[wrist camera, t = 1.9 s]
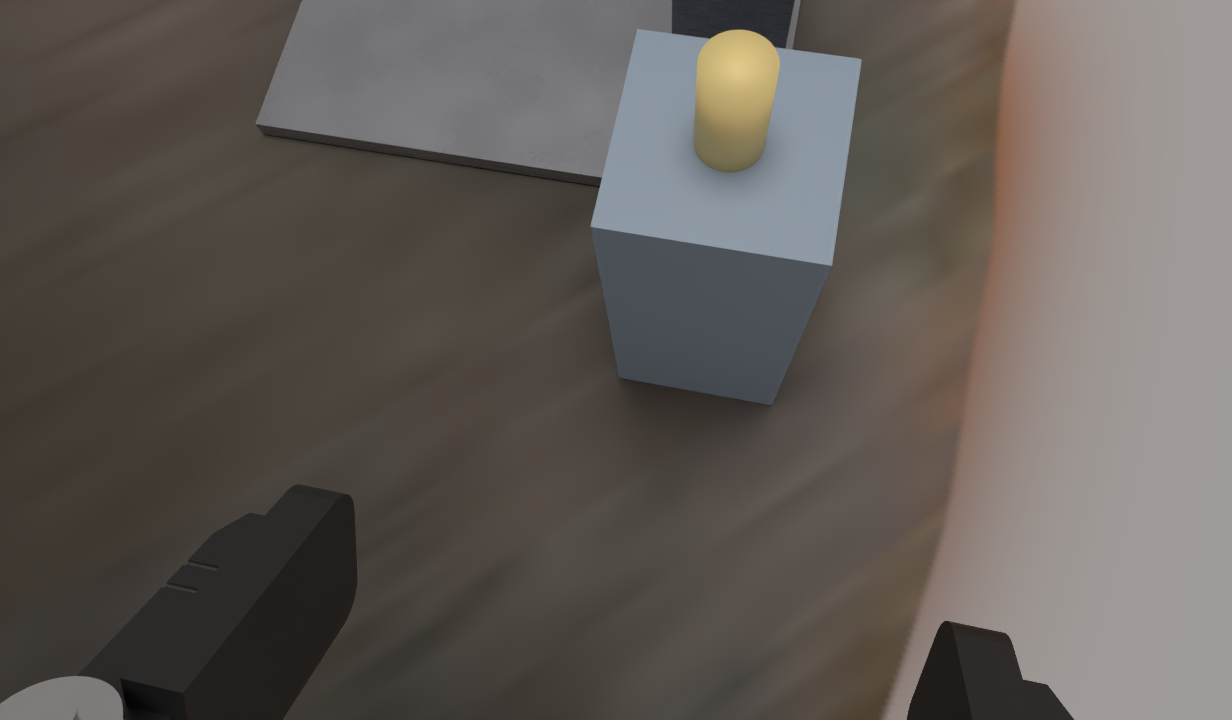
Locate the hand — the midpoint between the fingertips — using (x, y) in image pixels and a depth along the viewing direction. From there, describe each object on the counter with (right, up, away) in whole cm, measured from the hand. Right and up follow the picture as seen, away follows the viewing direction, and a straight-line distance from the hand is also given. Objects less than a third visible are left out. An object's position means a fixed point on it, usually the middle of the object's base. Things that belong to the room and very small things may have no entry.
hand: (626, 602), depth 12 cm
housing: (+3, +4, +15) cm, 16 cm away
